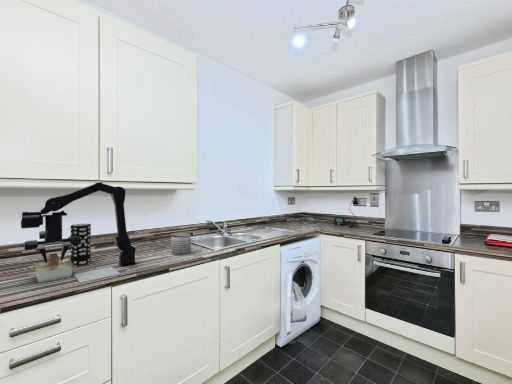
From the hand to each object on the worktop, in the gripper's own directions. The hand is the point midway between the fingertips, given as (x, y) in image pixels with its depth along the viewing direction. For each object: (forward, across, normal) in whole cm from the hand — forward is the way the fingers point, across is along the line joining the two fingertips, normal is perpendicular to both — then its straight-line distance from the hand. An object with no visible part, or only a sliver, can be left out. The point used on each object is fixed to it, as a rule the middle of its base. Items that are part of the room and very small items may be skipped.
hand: (53, 262), depth 107 cm
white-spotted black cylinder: (+6, -12, -13) cm, 19 cm away
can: (+7, -59, +3) cm, 59 cm away
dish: (+6, 0, 0) cm, 6 cm away
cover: (+2, 0, 0) cm, 2 cm away
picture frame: (+6, -14, +11) cm, 19 cm away
